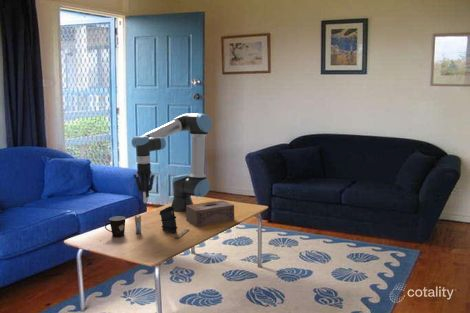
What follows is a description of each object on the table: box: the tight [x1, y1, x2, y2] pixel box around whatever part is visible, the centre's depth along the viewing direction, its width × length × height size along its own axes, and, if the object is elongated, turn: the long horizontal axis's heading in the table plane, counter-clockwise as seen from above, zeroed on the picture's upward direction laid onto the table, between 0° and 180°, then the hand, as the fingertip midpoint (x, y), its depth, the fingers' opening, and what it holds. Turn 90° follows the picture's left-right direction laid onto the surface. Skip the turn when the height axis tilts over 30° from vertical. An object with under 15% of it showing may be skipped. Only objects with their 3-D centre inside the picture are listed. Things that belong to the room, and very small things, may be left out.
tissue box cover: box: [185, 199, 235, 227], centre depth 294 cm, size 26×14×10 cm, turn 119°
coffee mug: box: [104, 215, 126, 238], centre depth 266 cm, size 12×9×10 cm
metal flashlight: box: [134, 214, 142, 235], centre depth 270 cm, size 3×3×10 cm
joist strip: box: [174, 228, 190, 240], centre depth 268 cm, size 16×2×1 cm, turn 164°
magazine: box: [159, 205, 178, 235], centre depth 273 cm, size 4×13×15 cm, turn 40°
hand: (145, 202), depth 279 cm, fingers closed
